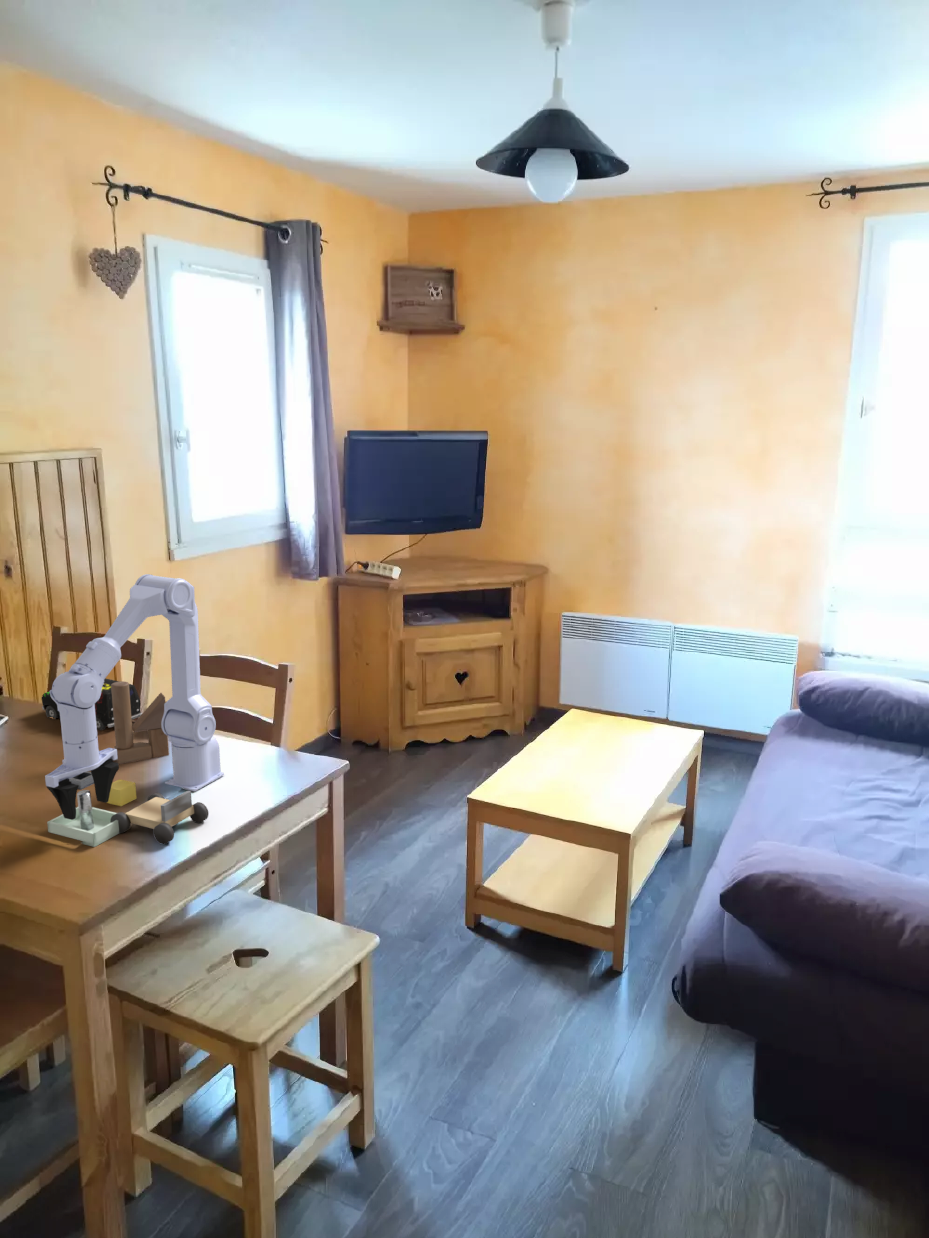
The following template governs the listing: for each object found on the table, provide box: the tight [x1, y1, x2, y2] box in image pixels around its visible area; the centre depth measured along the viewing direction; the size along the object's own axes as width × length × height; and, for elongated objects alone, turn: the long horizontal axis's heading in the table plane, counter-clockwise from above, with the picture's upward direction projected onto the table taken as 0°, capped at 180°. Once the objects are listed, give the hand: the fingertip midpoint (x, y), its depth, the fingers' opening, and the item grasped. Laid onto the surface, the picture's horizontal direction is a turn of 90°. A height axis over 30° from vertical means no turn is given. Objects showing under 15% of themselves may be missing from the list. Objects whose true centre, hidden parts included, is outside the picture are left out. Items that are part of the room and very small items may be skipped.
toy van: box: [41, 677, 143, 731], centre depth 219 cm, size 11×25×10 cm, turn 62°
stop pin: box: [76, 789, 94, 831], centre depth 160 cm, size 2×2×7 cm
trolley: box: [111, 790, 209, 845], centre depth 163 cm, size 10×14×6 cm
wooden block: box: [111, 680, 170, 765], centre depth 193 cm, size 4×11×18 cm, turn 121°
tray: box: [46, 806, 120, 848], centre depth 161 cm, size 8×11×2 cm
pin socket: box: [69, 771, 94, 791], centre depth 181 cm, size 5×5×2 cm
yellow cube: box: [106, 778, 137, 807], centre depth 173 cm, size 4×4×4 cm
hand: (86, 809), depth 160 cm, fingers open, 7 cm apart
